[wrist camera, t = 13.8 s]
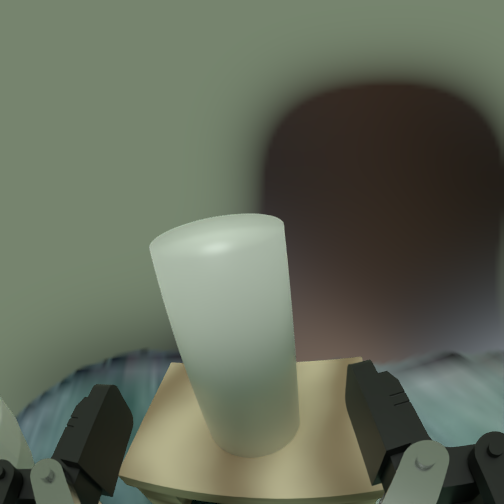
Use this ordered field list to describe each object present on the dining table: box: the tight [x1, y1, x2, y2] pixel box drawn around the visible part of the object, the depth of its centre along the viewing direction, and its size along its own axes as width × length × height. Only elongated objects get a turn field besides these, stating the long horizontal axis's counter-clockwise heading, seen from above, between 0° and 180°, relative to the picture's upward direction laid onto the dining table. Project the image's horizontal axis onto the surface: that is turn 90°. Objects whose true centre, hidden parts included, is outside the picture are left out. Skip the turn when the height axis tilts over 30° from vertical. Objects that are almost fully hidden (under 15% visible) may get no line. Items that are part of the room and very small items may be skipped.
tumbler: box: [149, 214, 300, 458], centre depth 16 cm, size 6×6×13 cm
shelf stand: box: [118, 357, 384, 504], centre depth 19 cm, size 16×12×6 cm
